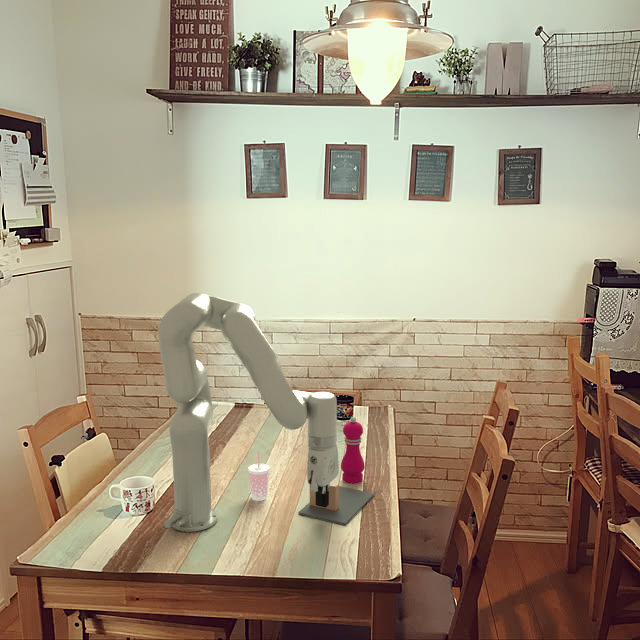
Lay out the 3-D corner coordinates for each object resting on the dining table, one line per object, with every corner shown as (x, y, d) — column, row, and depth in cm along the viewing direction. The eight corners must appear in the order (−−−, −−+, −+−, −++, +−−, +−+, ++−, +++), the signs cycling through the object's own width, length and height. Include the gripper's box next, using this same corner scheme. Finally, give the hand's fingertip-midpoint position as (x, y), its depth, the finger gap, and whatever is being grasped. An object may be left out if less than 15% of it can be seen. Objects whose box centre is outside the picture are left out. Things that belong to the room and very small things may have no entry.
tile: (335, 510, 180) (335, 486, 179) (309, 504, 184) (309, 481, 182) (338, 507, 182) (338, 484, 181) (313, 501, 185) (313, 478, 184)
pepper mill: (337, 482, 199) (337, 419, 196) (344, 473, 206) (345, 412, 202) (360, 486, 197) (361, 422, 193) (367, 476, 204) (368, 414, 200)
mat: (345, 525, 173) (345, 523, 173) (298, 514, 179) (298, 512, 179) (374, 495, 191) (374, 493, 191) (330, 485, 197) (330, 484, 197)
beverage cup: (265, 503, 186) (264, 456, 183) (245, 500, 188) (244, 453, 185) (273, 494, 192) (272, 448, 189) (253, 491, 193) (252, 445, 191)
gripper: (321, 451, 164) (321, 520, 168) (347, 433, 177) (346, 497, 181) (295, 446, 168) (296, 514, 171) (322, 428, 181) (322, 491, 184)
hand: (322, 505), depth 176 cm, fingers closed
